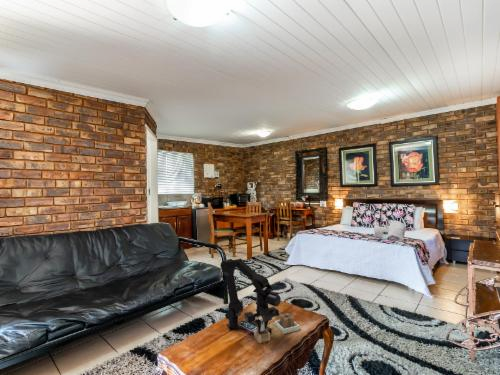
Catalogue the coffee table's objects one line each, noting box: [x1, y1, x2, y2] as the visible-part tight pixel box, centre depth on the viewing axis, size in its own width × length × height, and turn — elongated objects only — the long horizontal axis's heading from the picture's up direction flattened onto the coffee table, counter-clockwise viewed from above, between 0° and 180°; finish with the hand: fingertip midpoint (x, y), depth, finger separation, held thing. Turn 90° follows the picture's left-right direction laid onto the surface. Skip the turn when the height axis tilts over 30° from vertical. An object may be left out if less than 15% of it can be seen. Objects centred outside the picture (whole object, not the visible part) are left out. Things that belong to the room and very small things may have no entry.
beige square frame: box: [253, 328, 271, 344], centre depth 147 cm, size 6×6×4 cm
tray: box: [274, 319, 300, 335], centre depth 158 cm, size 10×10×2 cm
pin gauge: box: [259, 318, 265, 334], centre depth 147 cm, size 3×3×10 cm
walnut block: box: [279, 312, 295, 329], centre depth 158 cm, size 6×6×6 cm
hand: (262, 329), depth 147 cm, fingers open, 3 cm apart
